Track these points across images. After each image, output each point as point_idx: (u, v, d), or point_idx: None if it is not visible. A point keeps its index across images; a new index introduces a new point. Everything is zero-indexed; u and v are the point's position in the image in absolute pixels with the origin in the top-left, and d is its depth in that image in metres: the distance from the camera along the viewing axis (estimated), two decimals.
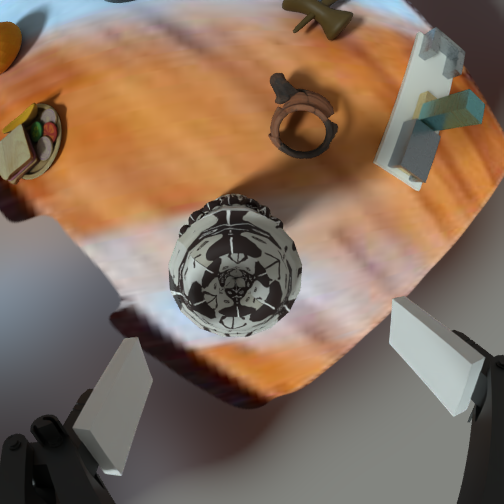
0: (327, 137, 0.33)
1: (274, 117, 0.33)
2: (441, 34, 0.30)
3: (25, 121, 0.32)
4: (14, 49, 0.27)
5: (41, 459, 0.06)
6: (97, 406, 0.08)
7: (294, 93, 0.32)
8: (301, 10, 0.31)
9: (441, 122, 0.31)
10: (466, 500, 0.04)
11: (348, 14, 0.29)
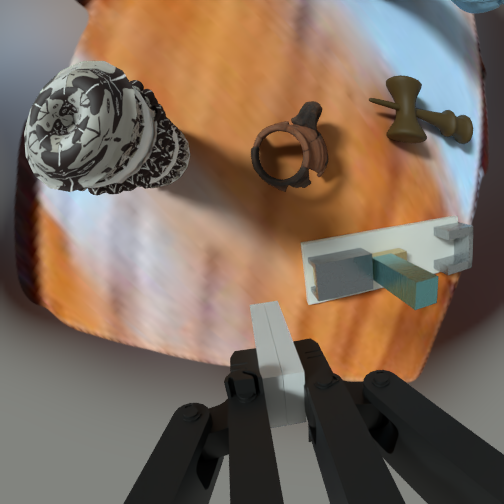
0: (290, 178, 0.33)
1: None
2: (470, 234, 0.37)
3: None
4: None
5: (227, 422, 0.08)
6: (273, 356, 0.11)
7: (310, 127, 0.32)
8: (395, 96, 0.34)
9: (386, 276, 0.34)
10: None
11: (422, 134, 0.33)
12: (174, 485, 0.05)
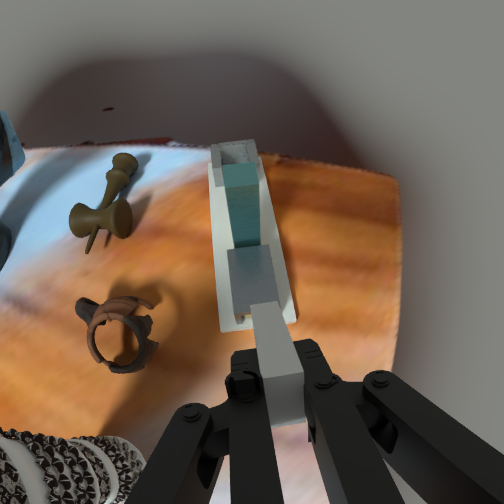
0: (136, 334, 0.29)
1: None
2: (219, 146, 0.45)
3: None
4: None
5: (227, 422, 0.08)
6: (274, 356, 0.11)
7: (94, 310, 0.31)
8: (88, 228, 0.41)
9: (245, 229, 0.33)
10: None
11: (115, 202, 0.39)
12: (174, 485, 0.05)
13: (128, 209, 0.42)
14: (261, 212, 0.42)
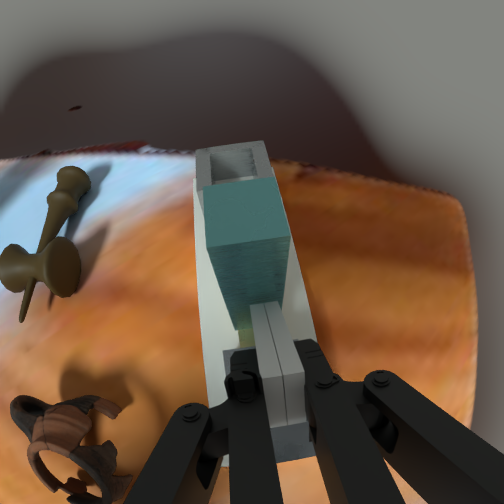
0: (92, 477, 0.13)
1: None
2: (208, 152, 0.28)
3: None
4: None
5: (226, 422, 0.08)
6: (273, 356, 0.11)
7: (33, 423, 0.15)
8: (24, 281, 0.25)
9: None
10: None
11: (49, 245, 0.23)
12: (174, 485, 0.05)
13: (72, 252, 0.26)
14: None
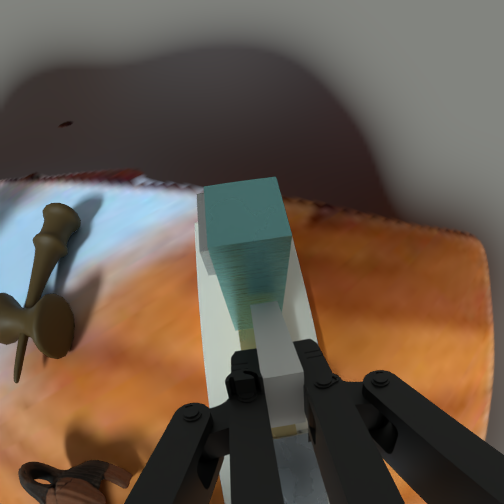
0: None
1: None
2: None
3: None
4: None
5: (227, 422, 0.08)
6: (274, 356, 0.11)
7: (45, 493, 0.11)
8: (15, 336, 0.21)
9: None
10: None
11: (37, 306, 0.20)
12: (175, 485, 0.05)
13: (63, 309, 0.23)
14: (293, 332, 0.23)
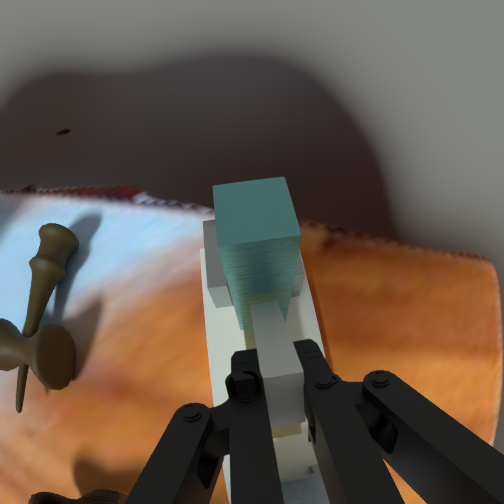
0: None
1: None
2: None
3: None
4: None
5: (227, 422, 0.08)
6: (274, 356, 0.11)
7: None
8: (16, 363, 0.20)
9: None
10: None
11: (36, 339, 0.18)
12: (175, 485, 0.05)
13: (63, 339, 0.21)
14: None
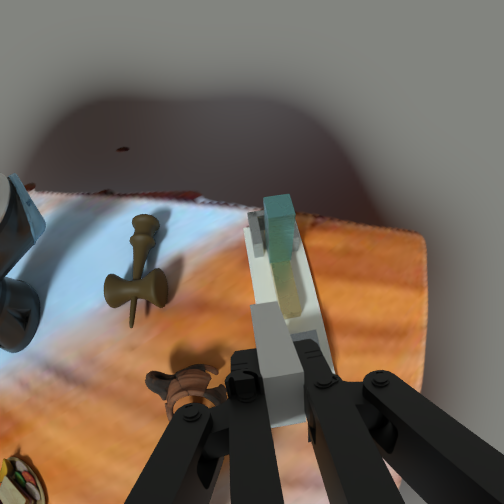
0: (216, 405, 0.31)
1: None
2: (256, 215, 0.46)
3: (7, 473, 0.26)
4: None
5: (227, 422, 0.08)
6: (274, 356, 0.11)
7: (168, 385, 0.33)
8: (125, 299, 0.43)
9: (280, 247, 0.40)
10: None
11: (152, 275, 0.41)
12: (175, 485, 0.05)
13: (163, 277, 0.44)
14: (302, 286, 0.44)
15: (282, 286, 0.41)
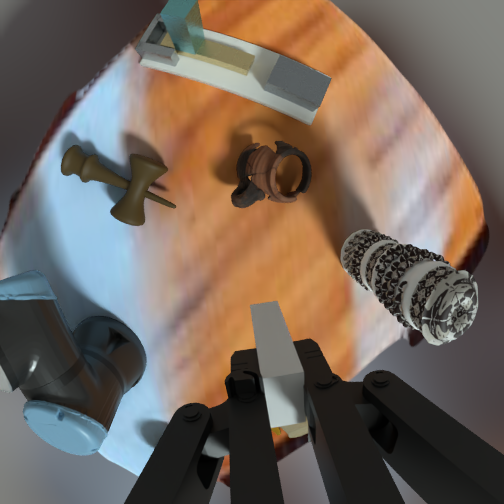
0: (294, 153, 0.37)
1: (277, 200, 0.40)
2: (143, 42, 0.32)
3: None
4: None
5: (227, 422, 0.08)
6: (274, 356, 0.11)
7: (254, 185, 0.38)
8: (142, 204, 0.40)
9: (197, 34, 0.30)
10: None
11: (137, 160, 0.36)
12: (174, 485, 0.05)
13: (140, 155, 0.38)
14: (229, 45, 0.37)
15: (223, 56, 0.35)
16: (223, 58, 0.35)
